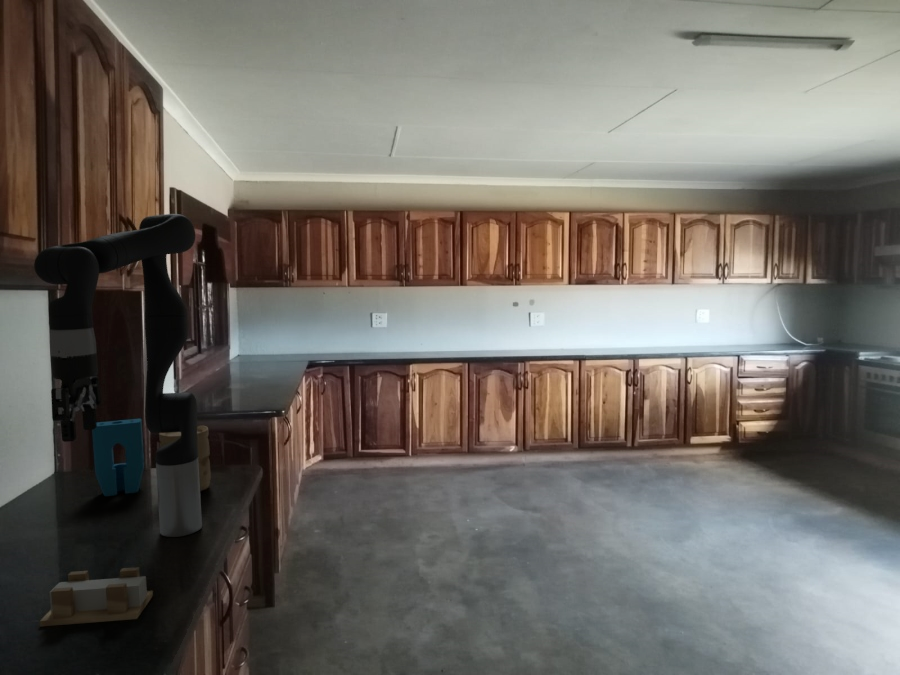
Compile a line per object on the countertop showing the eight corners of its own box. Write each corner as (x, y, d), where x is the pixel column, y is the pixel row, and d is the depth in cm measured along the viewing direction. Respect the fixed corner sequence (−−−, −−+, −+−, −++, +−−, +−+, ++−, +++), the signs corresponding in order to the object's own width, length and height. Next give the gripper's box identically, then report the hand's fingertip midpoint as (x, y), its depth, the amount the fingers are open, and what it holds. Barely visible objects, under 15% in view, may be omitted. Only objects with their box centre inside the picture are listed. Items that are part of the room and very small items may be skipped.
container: (161, 489, 173) (157, 428, 172) (208, 482, 179) (205, 422, 177) (164, 504, 162) (160, 438, 161) (214, 495, 168) (210, 432, 166)
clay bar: (61, 603, 112) (59, 582, 111) (147, 596, 114) (145, 576, 113) (51, 613, 108) (49, 592, 108) (140, 606, 110) (138, 585, 110)
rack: (63, 602, 114) (60, 571, 113) (152, 595, 116) (151, 565, 115) (40, 626, 106) (37, 593, 105) (137, 618, 108) (134, 586, 107)
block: (145, 485, 177) (141, 418, 175) (144, 491, 173) (140, 422, 170) (98, 491, 172) (93, 422, 170) (96, 497, 168) (91, 426, 166)
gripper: (71, 348, 123) (77, 426, 124) (32, 357, 109) (39, 446, 110) (110, 347, 124) (115, 425, 125) (76, 356, 110) (83, 444, 111)
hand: (80, 435), depth 118 cm, fingers open, 8 cm apart
